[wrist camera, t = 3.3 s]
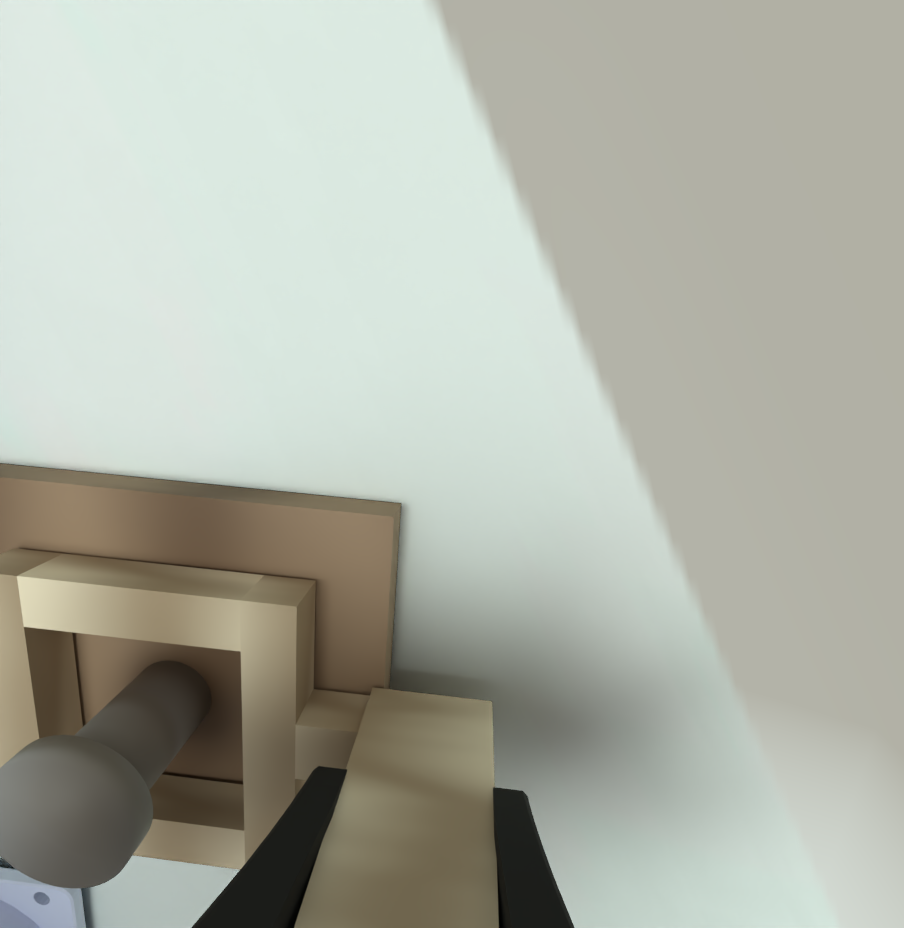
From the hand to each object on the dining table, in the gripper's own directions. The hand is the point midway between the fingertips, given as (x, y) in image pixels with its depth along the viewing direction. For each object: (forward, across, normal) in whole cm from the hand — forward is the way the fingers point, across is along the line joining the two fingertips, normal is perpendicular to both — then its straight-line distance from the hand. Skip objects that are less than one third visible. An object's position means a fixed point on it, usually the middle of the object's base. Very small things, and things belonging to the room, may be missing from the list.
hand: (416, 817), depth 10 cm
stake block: (+3, +7, 0) cm, 8 cm away
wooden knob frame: (+2, +5, 0) cm, 5 cm away
